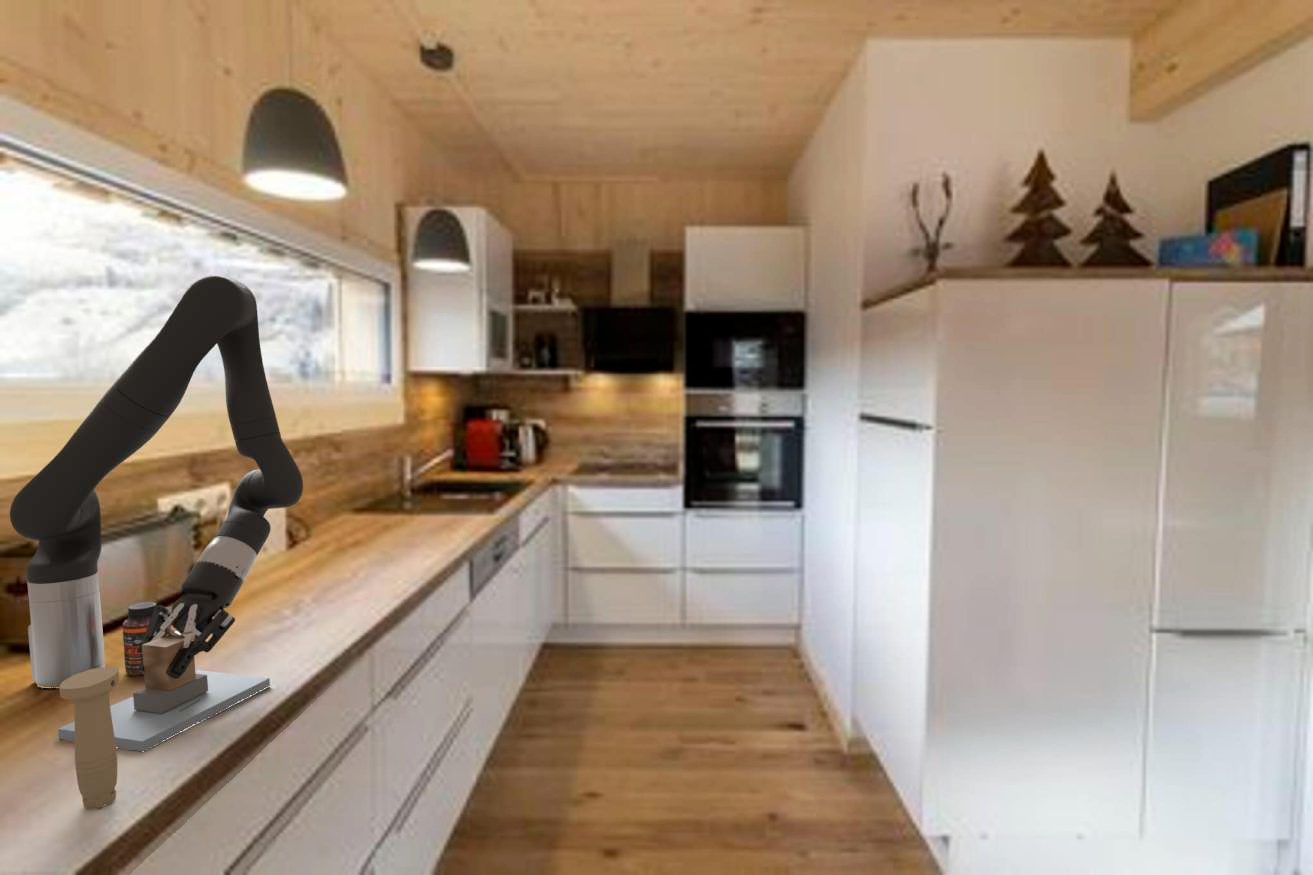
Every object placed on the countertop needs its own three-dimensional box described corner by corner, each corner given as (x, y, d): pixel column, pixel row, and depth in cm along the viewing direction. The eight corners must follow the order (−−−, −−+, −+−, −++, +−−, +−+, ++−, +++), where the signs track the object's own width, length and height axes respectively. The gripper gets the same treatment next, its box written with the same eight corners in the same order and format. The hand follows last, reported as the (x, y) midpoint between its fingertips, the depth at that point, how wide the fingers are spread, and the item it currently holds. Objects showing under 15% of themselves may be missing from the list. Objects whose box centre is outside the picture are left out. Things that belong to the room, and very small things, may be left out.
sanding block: (134, 709, 112) (129, 648, 111) (182, 687, 120) (178, 630, 119) (161, 713, 110) (156, 651, 110) (208, 690, 118) (203, 633, 117)
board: (59, 739, 107) (58, 728, 107) (195, 678, 128) (194, 669, 128) (143, 752, 102) (142, 741, 102) (270, 687, 123) (269, 677, 123)
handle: (137, 787, 93) (128, 665, 92) (105, 817, 87) (95, 687, 86) (94, 790, 93) (84, 668, 92) (59, 820, 87) (48, 690, 85)
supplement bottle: (116, 676, 129) (111, 609, 128) (144, 663, 135) (140, 599, 134) (148, 677, 129) (144, 610, 128) (175, 664, 134) (171, 600, 134)
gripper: (169, 557, 123) (101, 659, 112) (242, 561, 118) (179, 667, 108) (200, 581, 128) (138, 681, 118) (271, 586, 124) (213, 689, 113)
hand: (158, 674), depth 113 cm, fingers closed on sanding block, 4 cm apart
